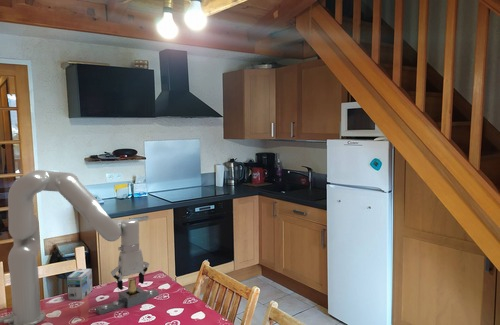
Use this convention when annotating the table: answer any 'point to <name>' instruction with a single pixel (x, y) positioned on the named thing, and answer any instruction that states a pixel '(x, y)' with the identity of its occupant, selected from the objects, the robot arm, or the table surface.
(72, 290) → the light bulb box
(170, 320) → the table surface
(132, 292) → the brass pin
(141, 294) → the grey slotted base plate
